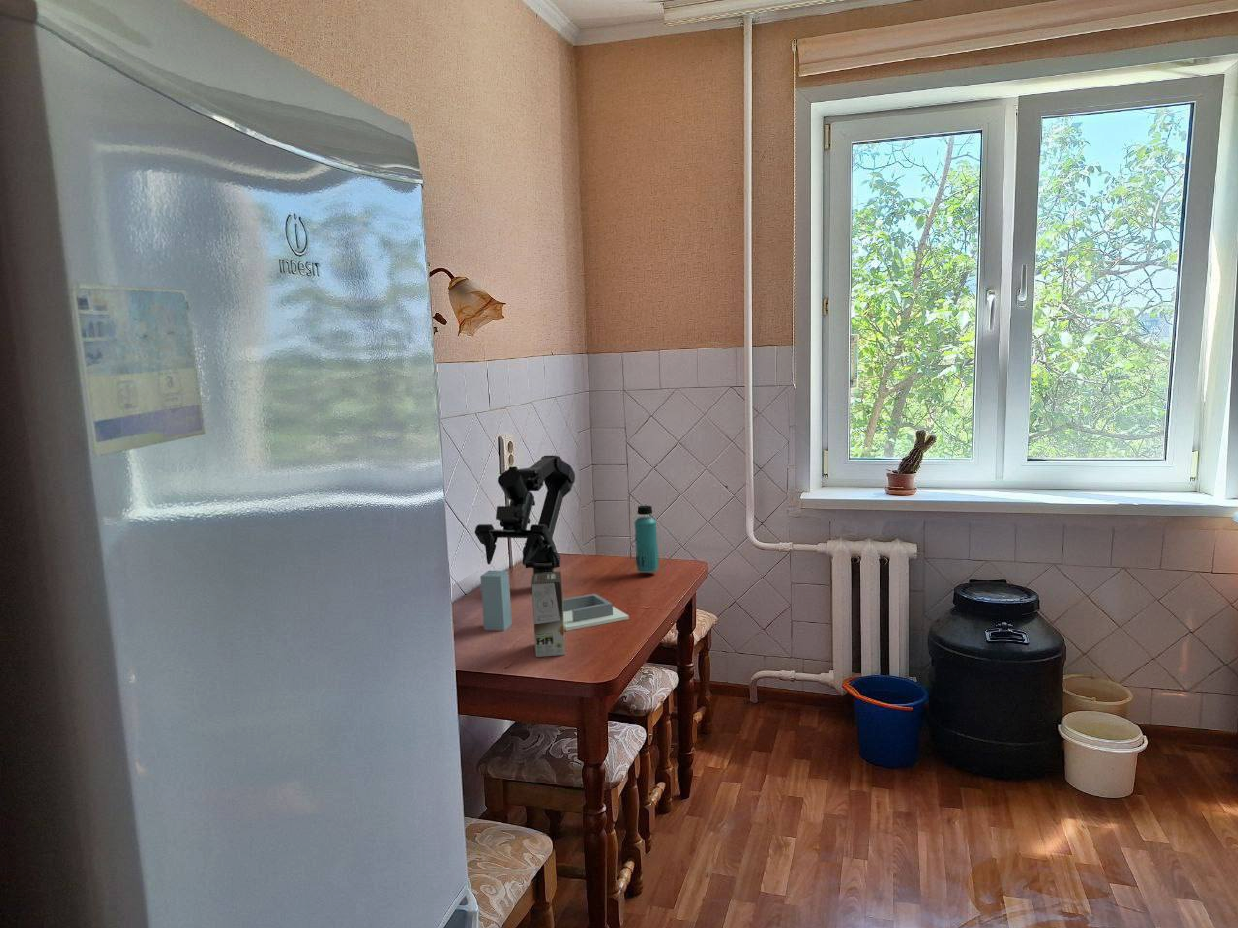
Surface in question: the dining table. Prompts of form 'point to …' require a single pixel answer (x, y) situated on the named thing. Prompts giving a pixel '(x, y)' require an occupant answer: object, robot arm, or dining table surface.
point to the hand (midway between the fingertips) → (505, 563)
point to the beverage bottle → (646, 541)
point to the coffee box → (548, 614)
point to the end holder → (589, 612)
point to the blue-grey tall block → (496, 600)
